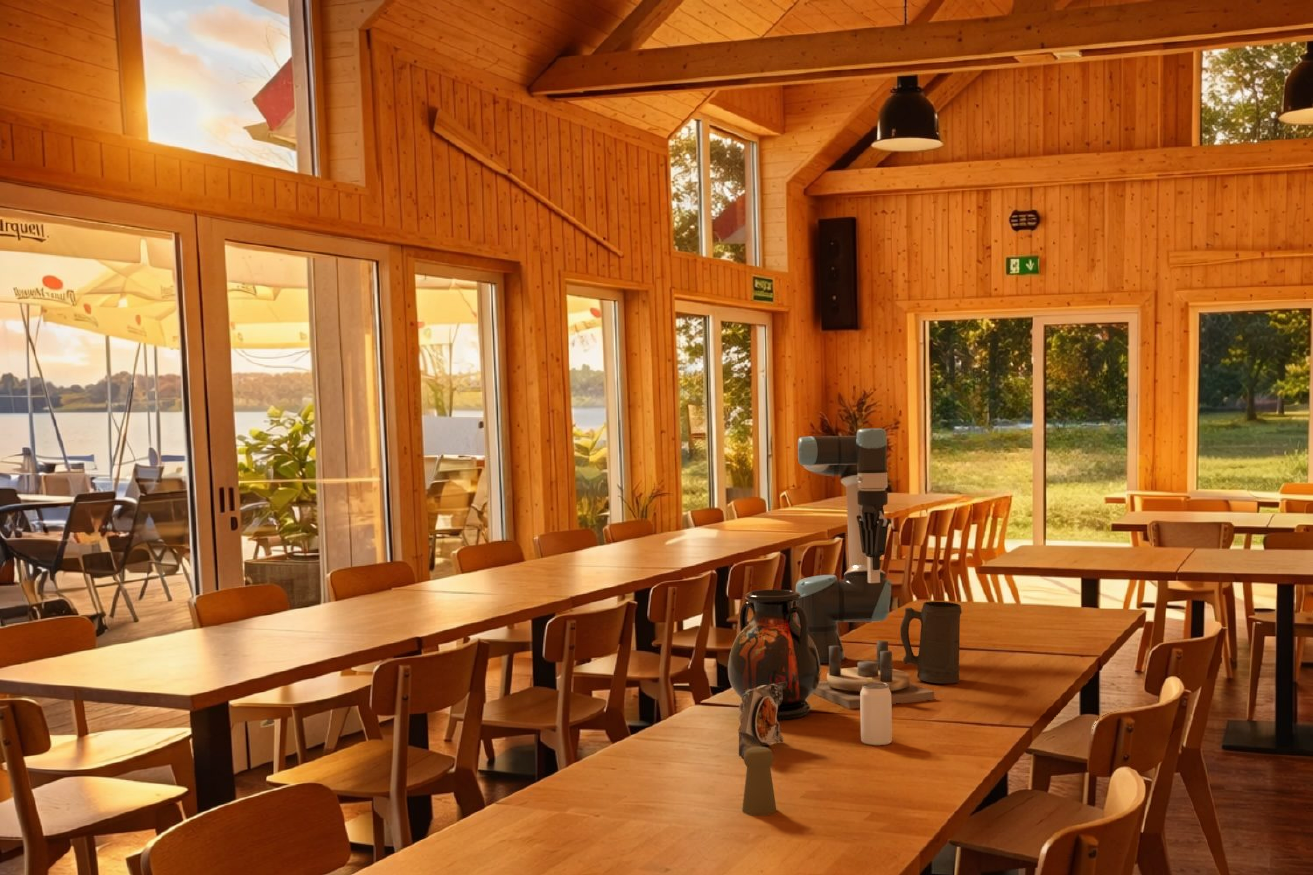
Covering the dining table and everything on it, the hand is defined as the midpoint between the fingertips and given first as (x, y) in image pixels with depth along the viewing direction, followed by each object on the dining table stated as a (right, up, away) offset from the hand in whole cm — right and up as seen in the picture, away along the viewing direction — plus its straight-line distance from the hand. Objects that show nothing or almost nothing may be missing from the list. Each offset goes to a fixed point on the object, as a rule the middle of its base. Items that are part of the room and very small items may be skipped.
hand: (873, 582), depth 329 cm
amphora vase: (-28, -27, -28) cm, 48 cm away
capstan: (-3, -24, -11) cm, 26 cm away
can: (-9, -28, -56) cm, 63 cm away
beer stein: (+16, -26, +5) cm, 31 cm away
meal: (-33, -28, -61) cm, 74 cm away
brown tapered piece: (-37, -29, -101) cm, 112 cm away
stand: (-3, -27, -10) cm, 29 cm away
